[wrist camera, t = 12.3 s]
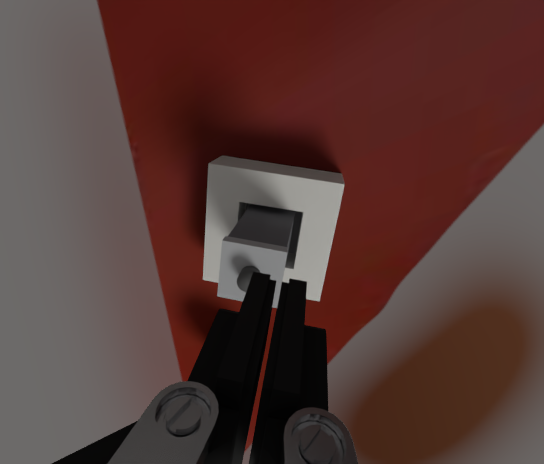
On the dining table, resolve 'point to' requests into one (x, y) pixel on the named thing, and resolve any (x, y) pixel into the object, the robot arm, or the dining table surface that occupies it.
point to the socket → (280, 194)
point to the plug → (255, 250)
